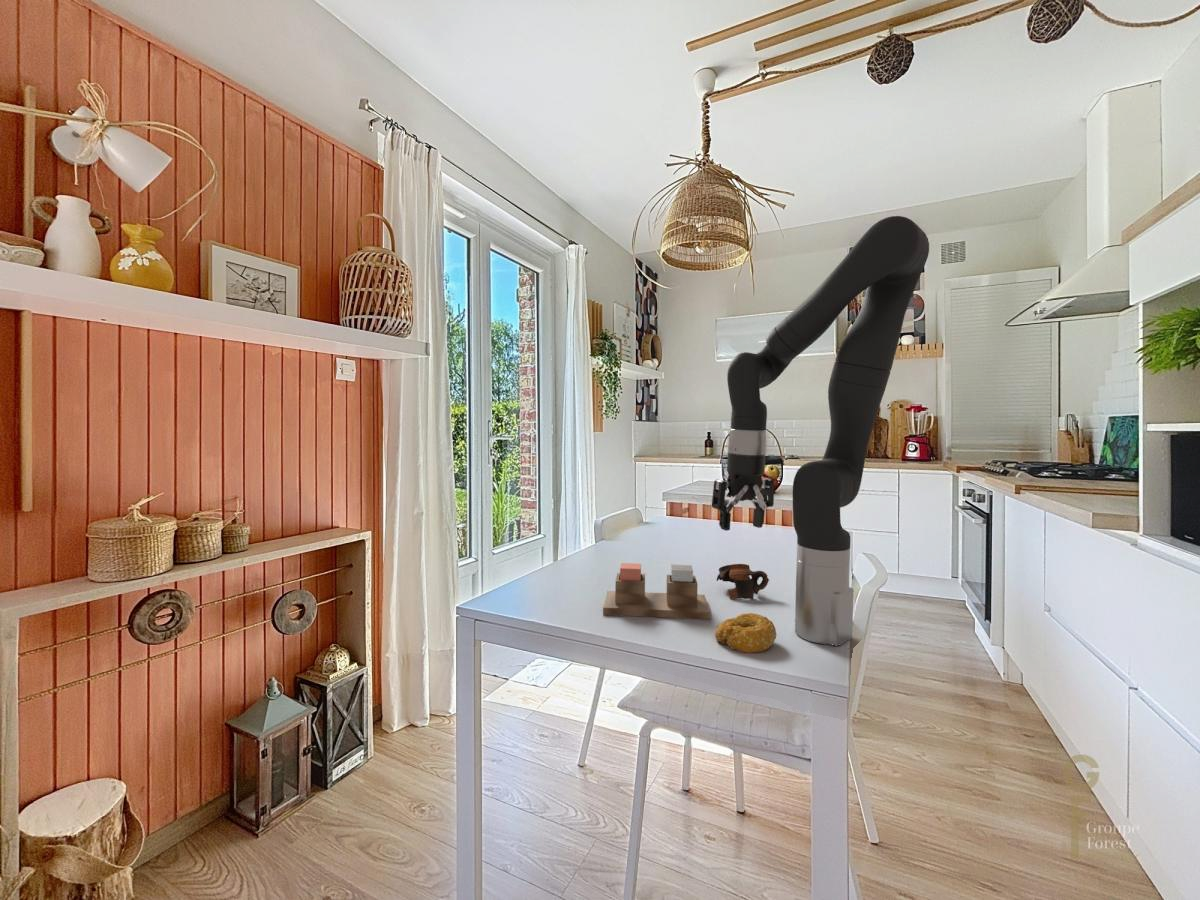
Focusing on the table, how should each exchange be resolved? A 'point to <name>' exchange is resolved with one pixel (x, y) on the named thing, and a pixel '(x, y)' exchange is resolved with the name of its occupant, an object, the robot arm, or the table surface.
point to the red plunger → (630, 572)
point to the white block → (682, 573)
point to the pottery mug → (742, 580)
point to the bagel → (747, 633)
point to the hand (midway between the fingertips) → (741, 528)
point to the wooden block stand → (656, 600)
